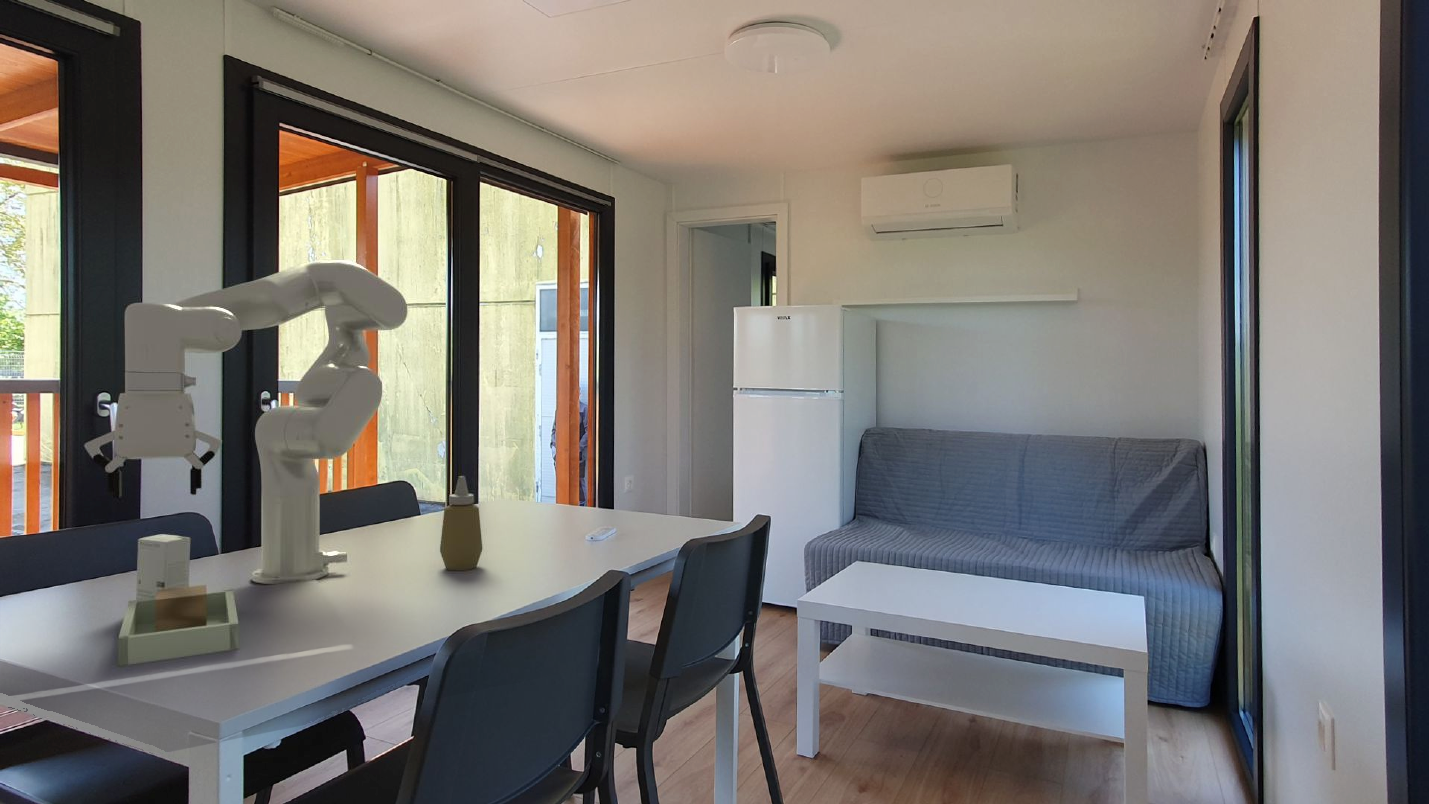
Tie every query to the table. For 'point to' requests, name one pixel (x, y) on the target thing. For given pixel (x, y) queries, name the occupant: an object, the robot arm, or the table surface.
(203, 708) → the table surface
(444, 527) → the squeeze bottle
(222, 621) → the tote
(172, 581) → the skincare box
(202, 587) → the walnut block
